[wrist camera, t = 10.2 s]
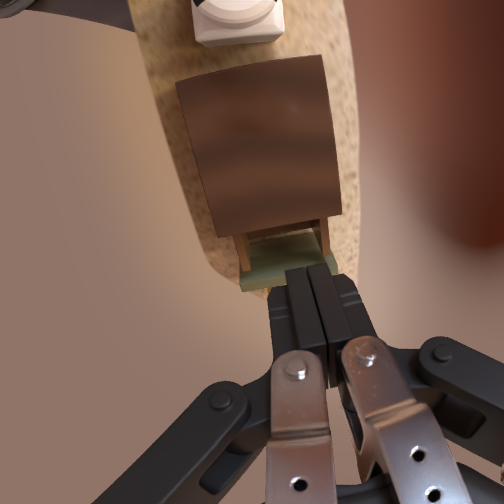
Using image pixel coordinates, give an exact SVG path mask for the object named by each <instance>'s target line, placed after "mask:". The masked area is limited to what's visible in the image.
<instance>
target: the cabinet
mask: <svg viewBox="0 0 504 504" xmlns="http://www.w3.org/2000/svg"><path fill="white" fill-rule="evenodd" d="M175 85H176V89H177V93H178V97H179V100H180V104H181V108H182V112H183V115H184V119H185V123H186V127H187V130H188V134H189V138H190V141H191V145H192V149H193V152H194V156H195V159H196V163H197V167H198V170H199V174H200V177H201V181H202V184H203V188H204V191H205V195H206V198H207V202H208V205H209V209H210V212H211V216H212V219H213V223H214V226H215V229H216V233H217V236H218V238H221V237H226V236H231V235H236V234H241V233H246V232H251V231H256V230H262V229H267V228H272V227H277V226H282V225H288V224H293V223H298V222H304V221H309V220H314V219H320V218H325V217H330V216H336V215H341V214H342V204H341V192H340V181H339V171H338V162H337V153H336V145H335V137H334V129H333V122H332V115H331V108H330V101H329V95H328V89H327V83H326V77H325V71H324V66H323V60H322V55H321V54H318V55H309V56H300V57H292V58H285V59H278V60H272V61H266V62H260V63H254V64H249V65H244V66H239V67H234V68H229V69H225V70H220V71H216V72H212V73H208V74H204V75H200V76H196V77H192V78H188V79H185V80H181V81H178V82H175Z"/></svg>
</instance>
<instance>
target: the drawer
mask: <svg viewBox="0 0 504 504" xmlns="http://www.w3.org/2000/svg"><path fill="white" fill-rule="evenodd" d="M307 228H312V230H313V232H312V233H306V234H301V235H296V236H291V237H285V238H280V239H275V240H270V241H265V242H259V243H254V244H249V239H254V238H260V237H265V236H270V235H275V234H280V233H286V232H291V231H296V230H301V229H307ZM233 237H234V241H235V245H236V249H237V252H238V256H239V260H240V287H241V290H242V292H247V291H252V290H258V289H263V288H267V289H268V293H270V291H271V289H272V287H274V286H280V285H285V284H286V278H285V272H284V270H289V269H294V268H299V267H305V269H306V266H309V265H314V264H319V263H325V262H326V263H327V264H328V267H329V269H330V272H331V275H336V274H338V265H337V262H336V260H335V258H334V256H333V253H332V251H331V249H330V240H329V229H328V219H327V217H325V218H320V219H314V220H309V221H304V222H298V223H293V224H288V225H282V226H277V227H272V228H267V229H262V230H256V231H251V232H246V233H241V234H236V235H233Z"/></svg>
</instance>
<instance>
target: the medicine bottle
mask: <svg viewBox="0 0 504 504" xmlns="http://www.w3.org/2000/svg"><path fill="white" fill-rule="evenodd" d="M191 5H192V14H193V23H194V32H195V39H196V41H197V42H199V43H200V44H202V45H203V46H205V47H206V48H209V47H217V46H225V45H234V44H244V43H257V42H273V41H275V40H276V39H278V38H279V37H280V36H281V35H282V34H283V33H284V32H285V27H284V17H283V7H282V0H191Z"/></svg>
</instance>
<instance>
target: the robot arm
mask: <svg viewBox="0 0 504 504" xmlns="http://www.w3.org/2000/svg"><path fill="white" fill-rule="evenodd" d="M16 1H18V0H0V8H5V7H8V6H10V5H12V4H13V3H15V2H16ZM284 272H285V278H286V284H287V285H283V286H277V287H272V289H271V291H270V293H269V295H268V298H267V302H268V310H269V319H270V328H271V338H272V346H273V363H272V365H271V367H270V369H269V370H268V371H267V373H265V374H264V375H263V376H262V377H261V378H259V379H257V380H255V381H253V382H251V383H248V384H246V385H244V386H240V385H239V384H237V383H234V382H230V381H222V382H217V383H214V384H212V385H210V386H208V387H207V388H206V389H204V390H203V391H202V392H201V394H200V395H199V396H198V397H197V398H196V399H195V400H194V401H193V402H192V403H191V404H190V405H189V407H188V408H187V409H186V410H185V411H184V412H183V413H182V414H181V415H180V416H179V417H178V418H177V419H176V420H175V421H174V423H172V425H171V426H170V427H169V428H168V429H167V430H166V431H165V432H164V433H163V434H162V435H161V436H160V437H159V438H158V439H157V440H156V441H155V442H154V443H153V444H152V445H151V446H150V447H149V448H148V449H147V450H146V451H145V452H144V453H143V454H142V455H141V456H140V457H139V458H138V459H137V460H136V461H135V462H134V463H133V464H132V465H131V466H130V467H129V468H128V469H127V471H125V472H124V473H123V474H122V475H121V476H120V477H119V478H118V479H117V480H116V481H115V482H114V483H113V484H112V485H111V486H110V487H109V488H108V489H106V490H105V491H104V492H103V493H102V494H101V495H100V496H99V497H98V498H97V499H96V500H95V501H94V502H93V503H91V504H218V503H219V502H220V501H221V500H222V498H223V497H224V496H225V495H226V494H227V493H228V492H229V490H230V489H231V488H232V487H233V486H234V485H235V483H236V482H237V481H238V480H239V479H240V477H241V476H242V475H243V474H244V473H245V471H246V470H247V469H248V468H249V466H250V465H251V464H252V463H253V461H254V460H255V459H256V458H257V456H258V455H259V454H260V452H261V451H262V450H263V448H264V447H265V446H267V448H266V492H265V494H266V495H265V502H264V503H262V504H504V486H502V485H500V484H498V483H497V482H495V481H493V480H491V479H490V478H488V477H486V476H484V475H482V474H481V473H479V472H477V471H475V470H474V469H472V468H470V467H468V466H466V465H464V464H461V463H459V462H455V459H454V457H453V455H452V453H451V450H450V448H449V446H448V444H447V441H446V439H448V440H450V441H452V442H454V443H456V444H458V445H459V446H461V447H463V448H465V449H467V450H469V451H470V452H472V453H474V454H476V455H478V456H480V457H482V458H484V459H486V460H488V461H490V462H492V463H494V464H496V465H498V466H500V467H501V482H502V483H503V484H504V364H503V363H501V362H499V361H497V360H495V359H493V358H491V357H489V356H487V355H485V354H482V353H480V352H478V351H476V350H474V349H472V348H470V347H468V346H466V345H463V344H461V343H459V342H457V341H455V340H453V339H451V338H448V337H441V336H440V337H433V338H430V339H429V340H427V341H426V342H424V344H423V345H422V346H421V348H420V349H398V348H393V347H391V346H388V345H387V344H386V343H385V342H384V341H383V340H381V339H379V337H378V336H377V334H376V332H375V329H374V327H373V325H372V322H371V320H370V318H369V315H368V313H367V311H366V308H365V306H364V304H363V303H362V299H361V297H360V295H359V294H358V290H357V288H356V286H355V284H354V282H353V281H352V280H351V279H350V278H349V277H347V276H346V275H345V274H344V273H343V274H338V275H333V276H332V275H331V272H330V269H329V267H328V264H327V263H326V262H325V263H319V264H314V265H309V266H306V269H305V267H299V268H294V269H289V270H284ZM328 380H329V384H330V388H333V387H338V389H339V393H340V397H341V400H340V404H341V405H340V406H341V410H342V413H343V416H344V419H345V422H346V425H347V428H348V431H349V434H350V437H351V441H352V444H353V447H354V450H355V453H356V457H357V465H358V471H359V475H360V479H361V482H362V484H358V485H336V480H335V468H334V457H333V447H332V439H331V438H332V437H331V431H330V427H329V418H328V410H327V402H326V389H328ZM445 438H446V439H445Z"/></svg>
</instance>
